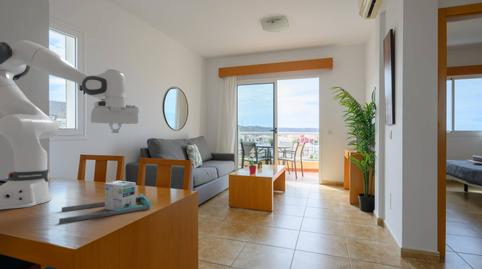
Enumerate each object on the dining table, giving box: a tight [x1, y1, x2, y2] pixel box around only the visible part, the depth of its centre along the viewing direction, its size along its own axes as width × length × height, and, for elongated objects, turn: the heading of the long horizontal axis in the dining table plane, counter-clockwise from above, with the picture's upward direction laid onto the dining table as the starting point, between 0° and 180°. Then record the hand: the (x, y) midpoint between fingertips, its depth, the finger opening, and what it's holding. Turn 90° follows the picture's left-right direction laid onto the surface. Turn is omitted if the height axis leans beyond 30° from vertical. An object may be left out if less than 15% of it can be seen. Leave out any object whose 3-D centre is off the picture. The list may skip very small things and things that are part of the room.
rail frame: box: [58, 193, 152, 225], centre depth 97 cm, size 30×16×3 cm, turn 124°
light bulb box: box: [104, 180, 137, 211], centre depth 99 cm, size 11×7×11 cm, turn 66°
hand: (115, 133), depth 115 cm, fingers closed
